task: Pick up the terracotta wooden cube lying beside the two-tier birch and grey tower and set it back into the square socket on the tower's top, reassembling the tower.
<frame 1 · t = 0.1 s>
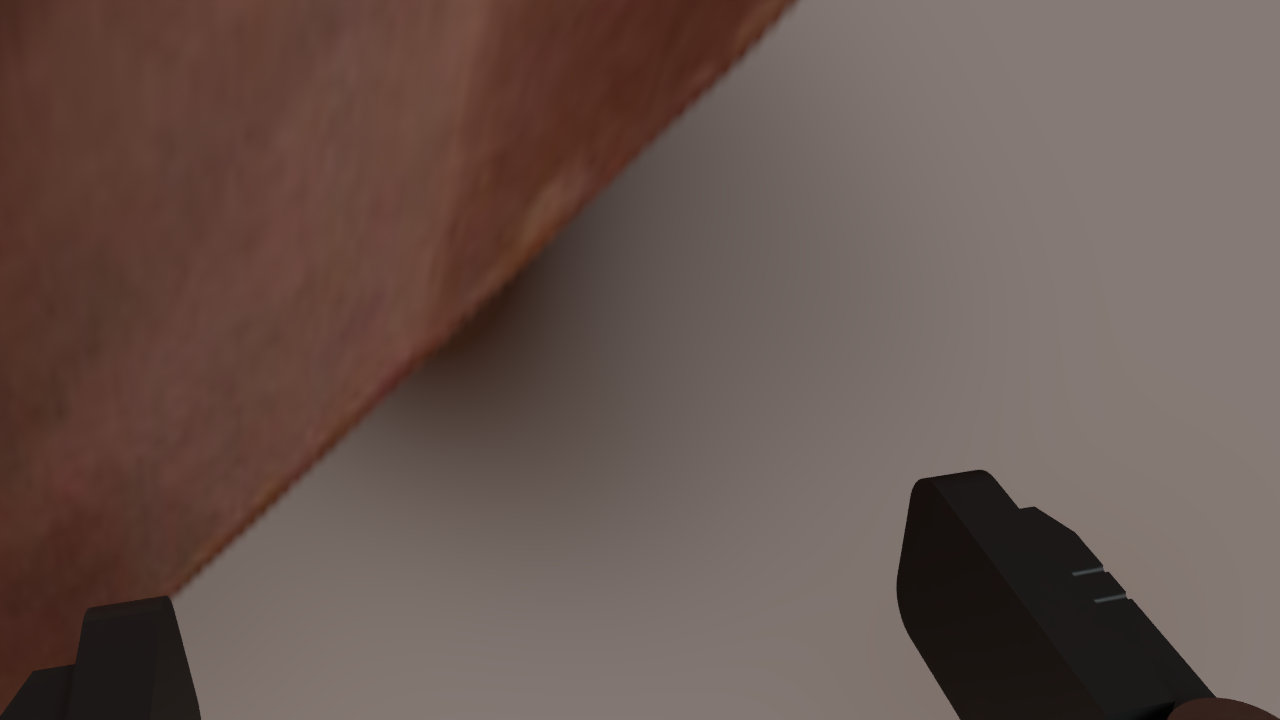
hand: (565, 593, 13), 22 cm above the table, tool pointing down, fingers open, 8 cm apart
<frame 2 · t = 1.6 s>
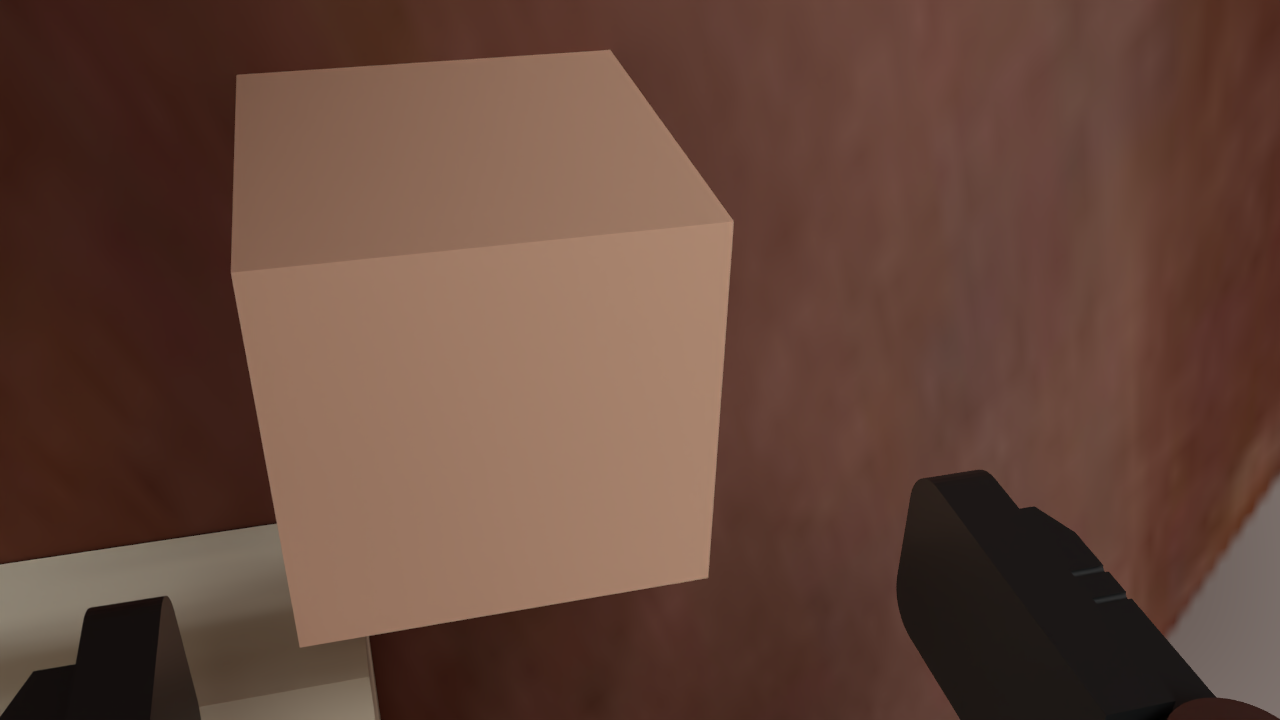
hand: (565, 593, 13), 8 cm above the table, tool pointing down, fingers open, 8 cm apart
top block: (441, 226, 20), on the table
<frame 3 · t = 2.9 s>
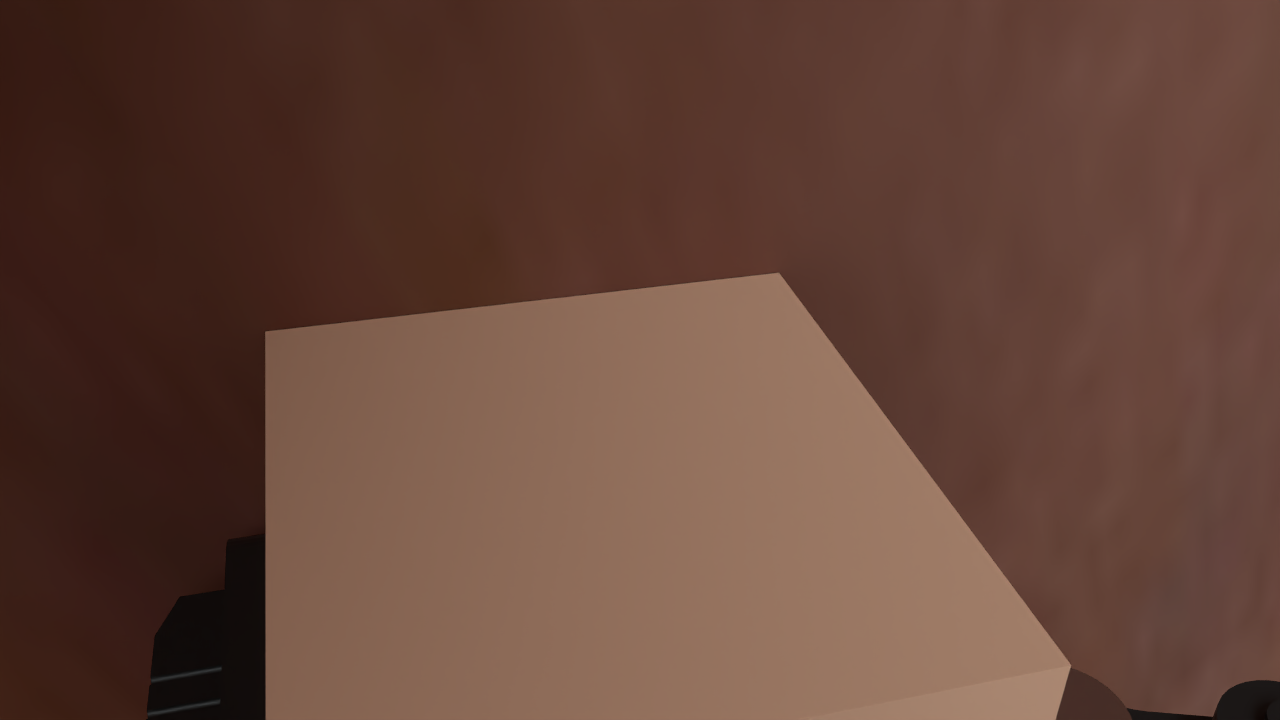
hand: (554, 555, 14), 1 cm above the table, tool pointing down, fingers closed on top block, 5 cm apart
top block: (541, 503, 14), on the table, touching gripper
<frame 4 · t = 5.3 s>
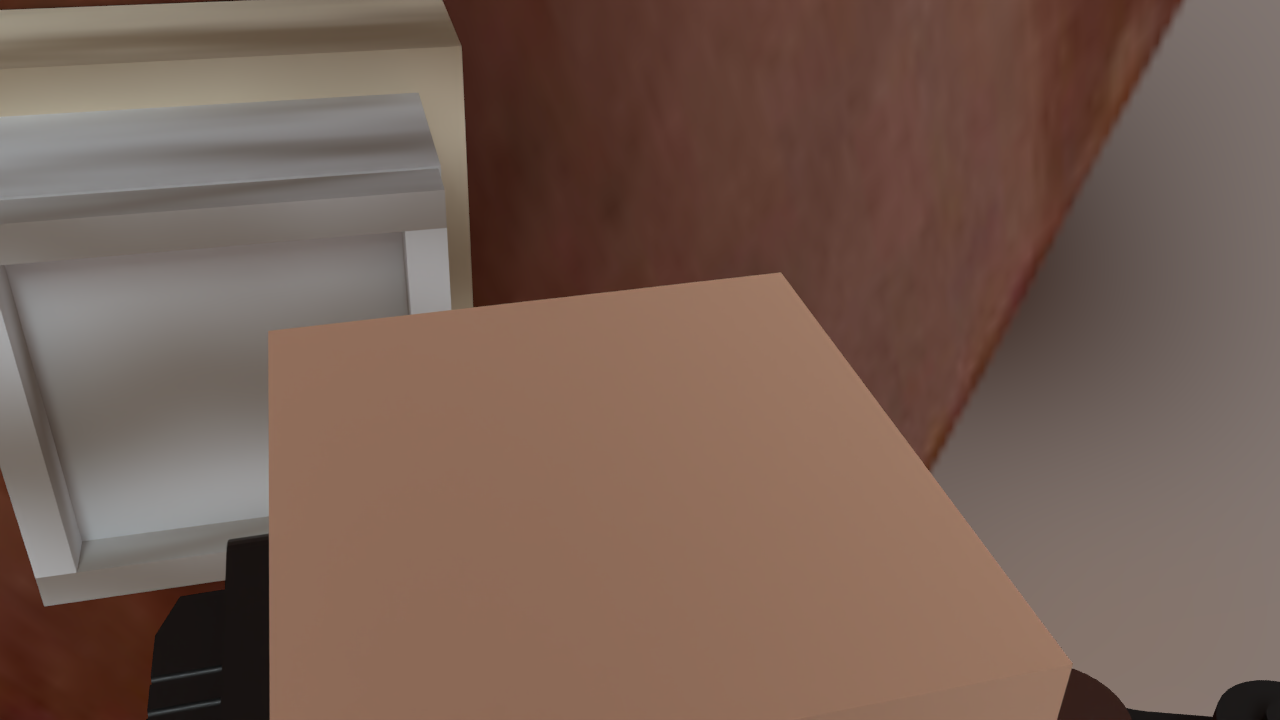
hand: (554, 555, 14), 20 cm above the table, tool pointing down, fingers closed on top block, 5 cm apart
tower: (237, 213, 32), on the table
top block: (543, 503, 14), point 19 cm above the table, touching gripper
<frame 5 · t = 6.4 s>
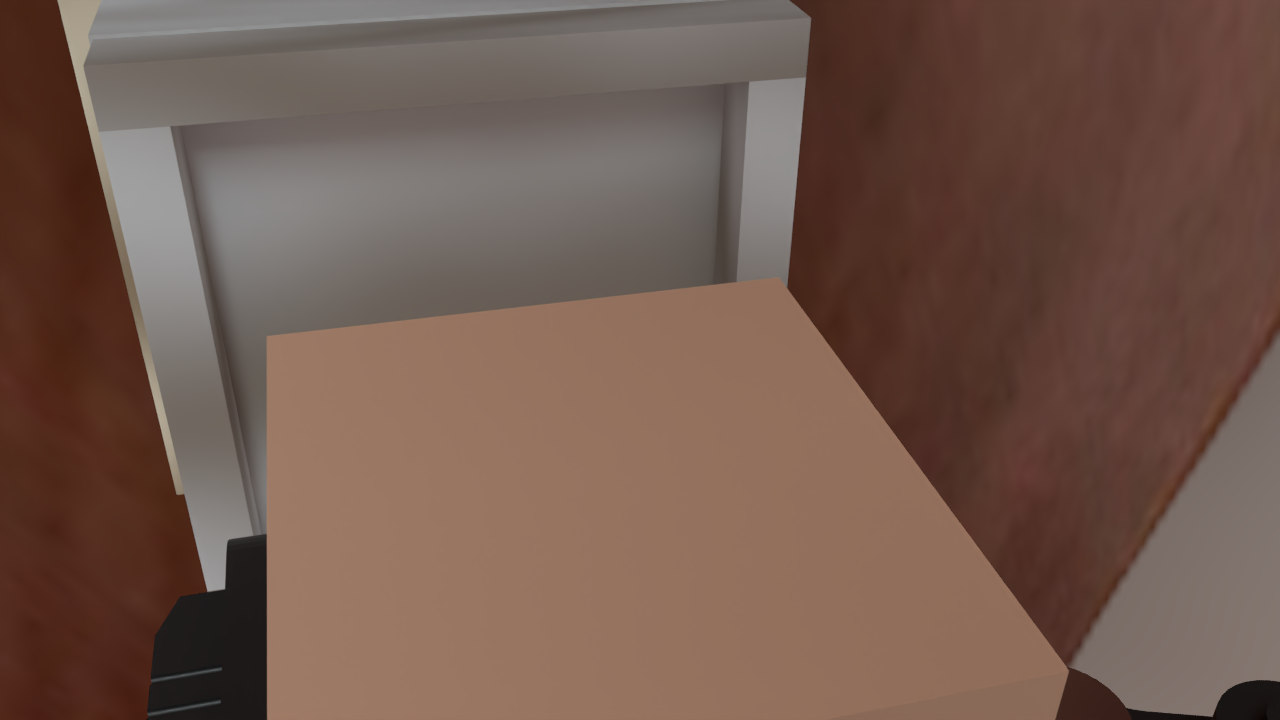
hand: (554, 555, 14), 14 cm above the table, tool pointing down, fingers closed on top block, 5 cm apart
tower: (422, 120, 25), on the table
top block: (542, 507, 14), point 13 cm above the table, touching gripper
when the fingers open (10 cm above the table, at t = 7.6 s): top block drops 1 cm, resting on tower.
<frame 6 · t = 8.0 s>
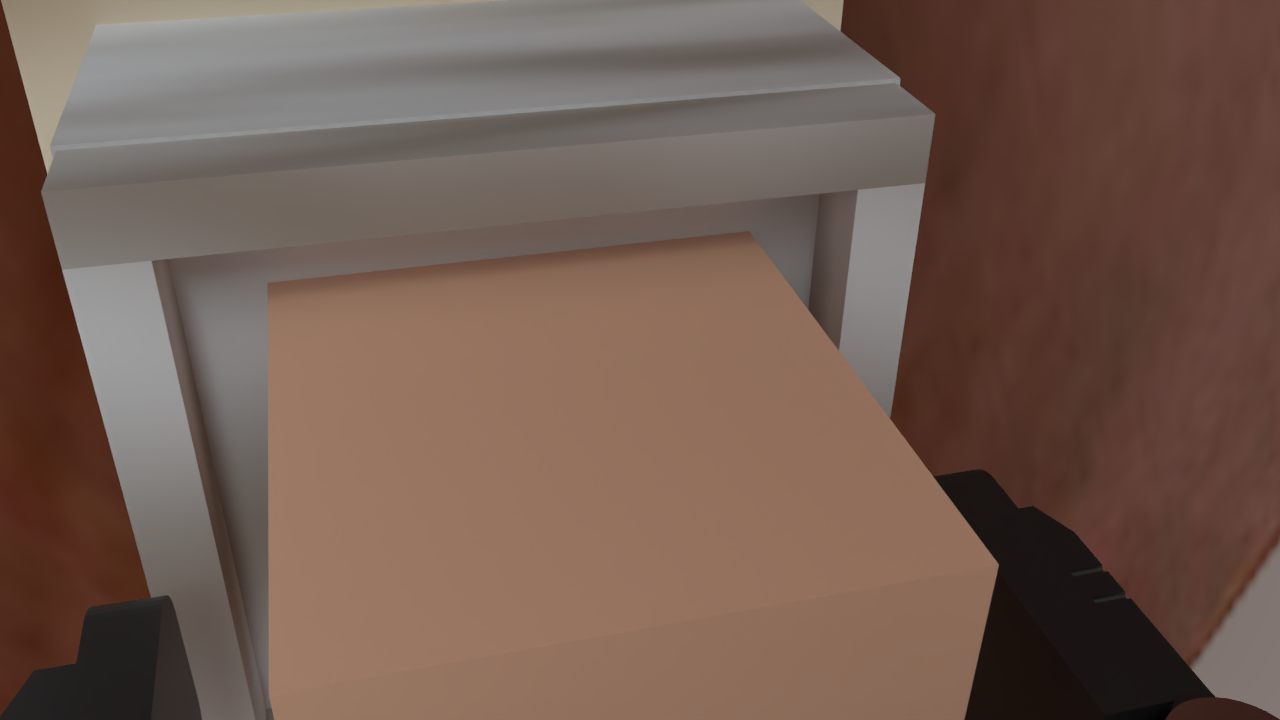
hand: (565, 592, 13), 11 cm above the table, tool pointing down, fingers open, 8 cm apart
tower: (446, 192, 22), on the table
top block: (528, 451, 15), point 8 cm above the table, touching tower
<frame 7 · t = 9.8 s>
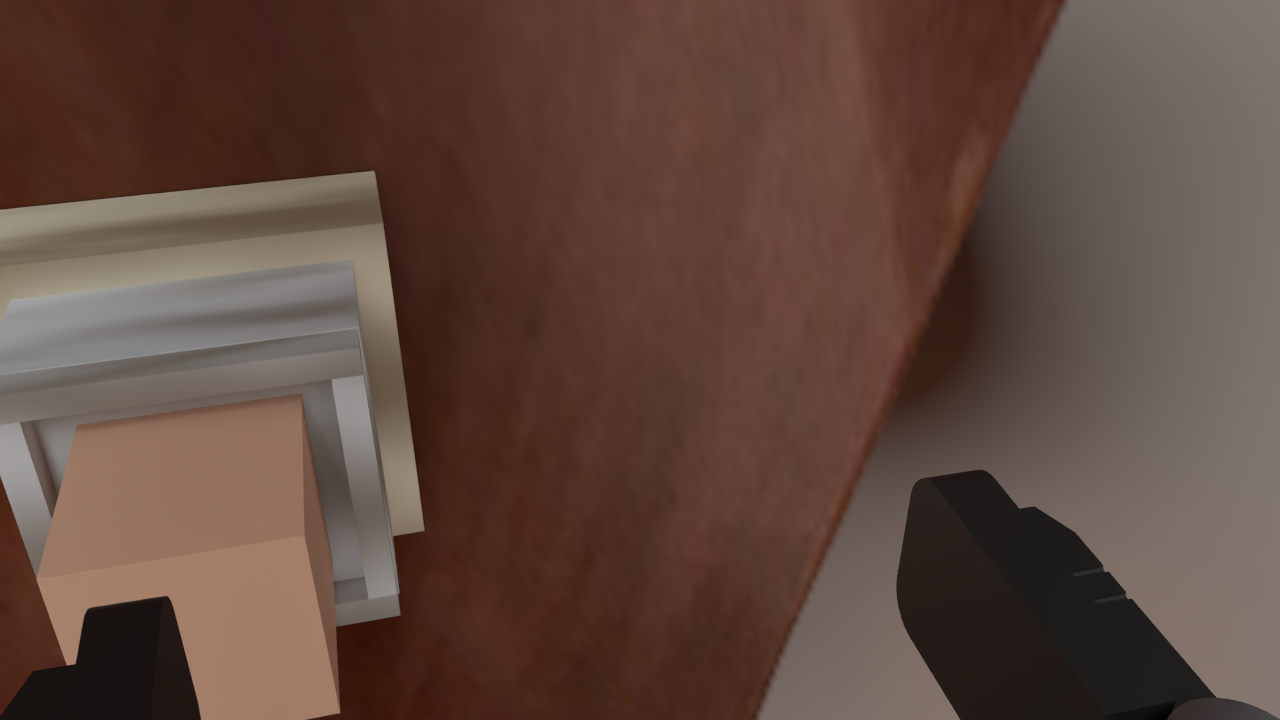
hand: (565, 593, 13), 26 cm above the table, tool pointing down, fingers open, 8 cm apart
tower: (222, 348, 39), on the table
top block: (212, 494, 33), point 8 cm above the table, touching tower
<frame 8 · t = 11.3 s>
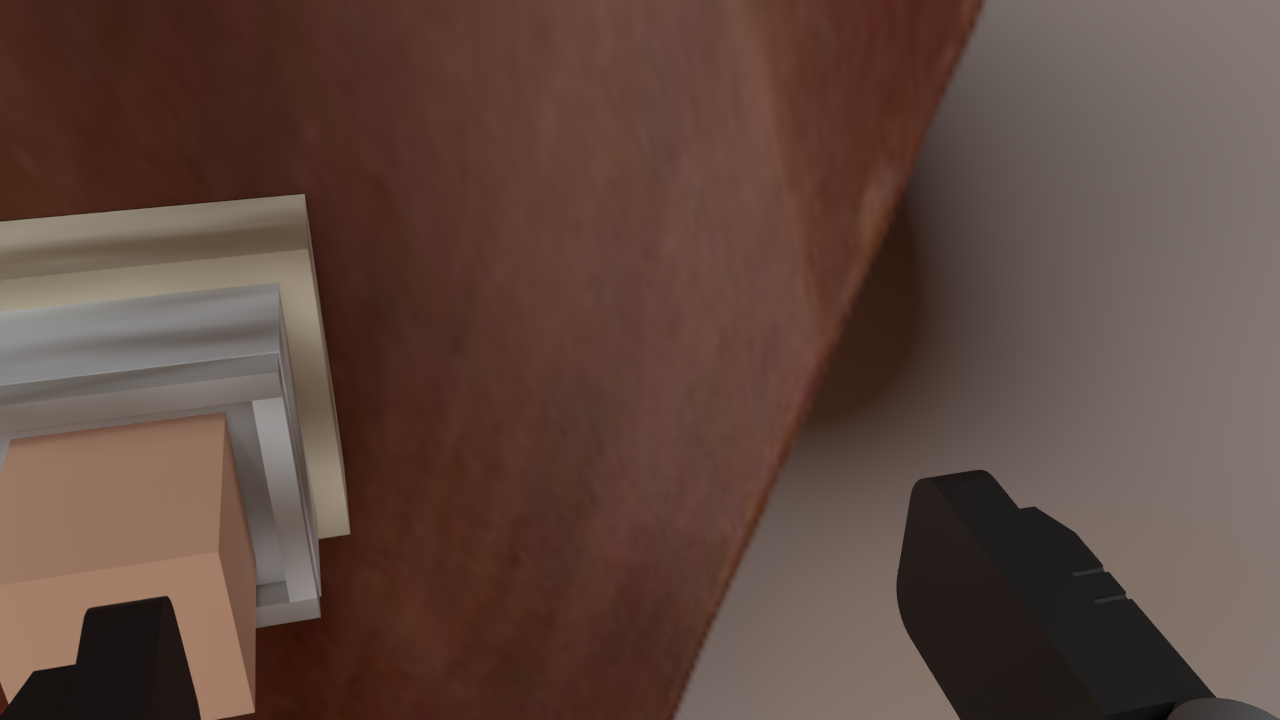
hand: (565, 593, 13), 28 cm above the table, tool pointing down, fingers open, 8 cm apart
tower: (158, 358, 41), on the table
top block: (140, 504, 35), point 8 cm above the table, touching tower
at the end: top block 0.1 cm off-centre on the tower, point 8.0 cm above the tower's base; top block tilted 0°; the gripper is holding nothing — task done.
